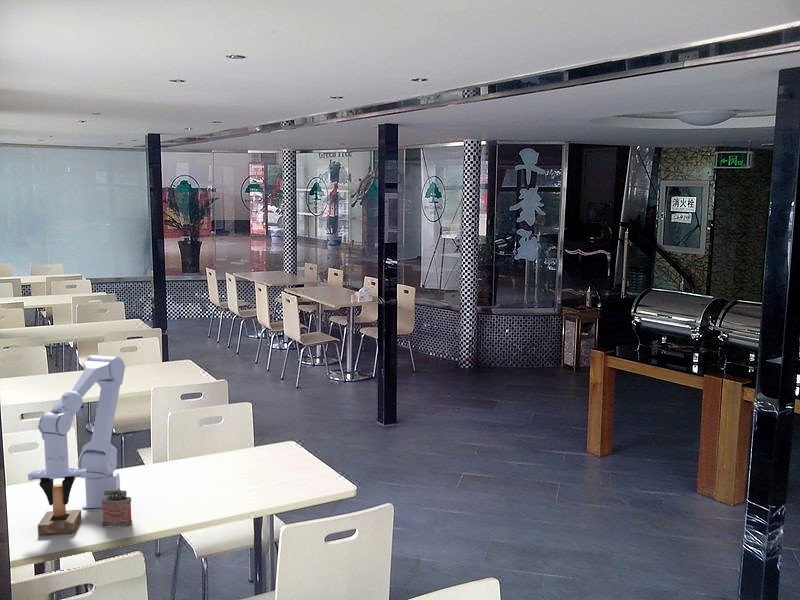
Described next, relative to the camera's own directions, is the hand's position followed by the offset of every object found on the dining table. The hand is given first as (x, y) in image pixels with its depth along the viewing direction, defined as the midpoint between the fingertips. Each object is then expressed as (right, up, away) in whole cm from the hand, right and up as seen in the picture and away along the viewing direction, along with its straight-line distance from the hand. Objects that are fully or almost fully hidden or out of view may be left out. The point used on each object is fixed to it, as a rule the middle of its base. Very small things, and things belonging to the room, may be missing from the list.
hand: (58, 503), depth 209 cm
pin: (0, -3, 0) cm, 3 cm away
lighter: (+15, -7, +4) cm, 17 cm away
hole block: (0, -7, +1) cm, 7 cm away
